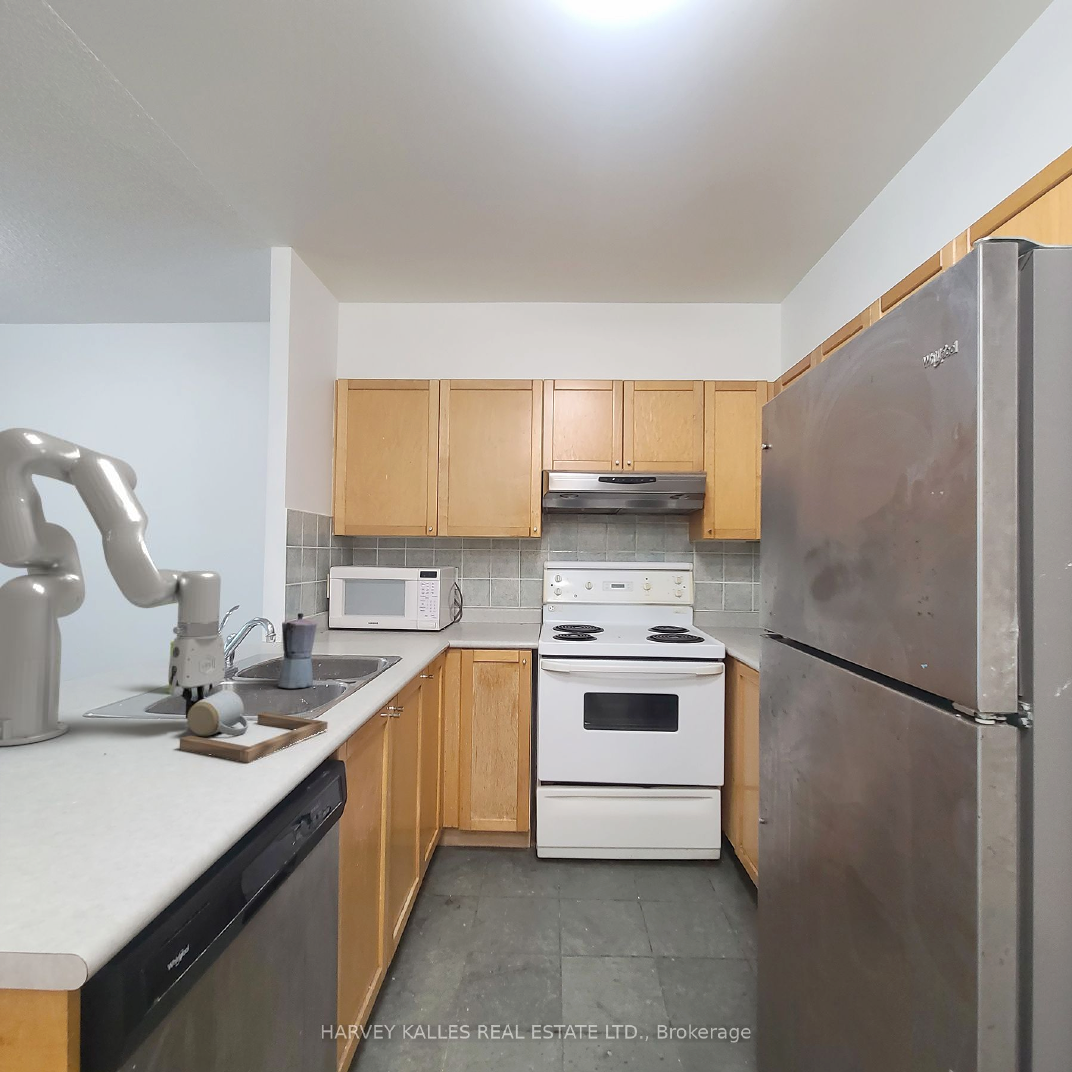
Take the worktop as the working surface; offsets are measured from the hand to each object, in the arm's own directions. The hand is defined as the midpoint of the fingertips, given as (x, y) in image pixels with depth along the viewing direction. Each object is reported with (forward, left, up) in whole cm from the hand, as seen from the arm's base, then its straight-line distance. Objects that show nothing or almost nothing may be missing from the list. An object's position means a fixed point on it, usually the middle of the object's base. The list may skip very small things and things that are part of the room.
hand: (194, 718), depth 120 cm
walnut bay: (0, -17, -2) cm, 17 cm away
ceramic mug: (+1, -7, -2) cm, 7 cm away
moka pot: (+38, +9, -2) cm, 39 cm away
